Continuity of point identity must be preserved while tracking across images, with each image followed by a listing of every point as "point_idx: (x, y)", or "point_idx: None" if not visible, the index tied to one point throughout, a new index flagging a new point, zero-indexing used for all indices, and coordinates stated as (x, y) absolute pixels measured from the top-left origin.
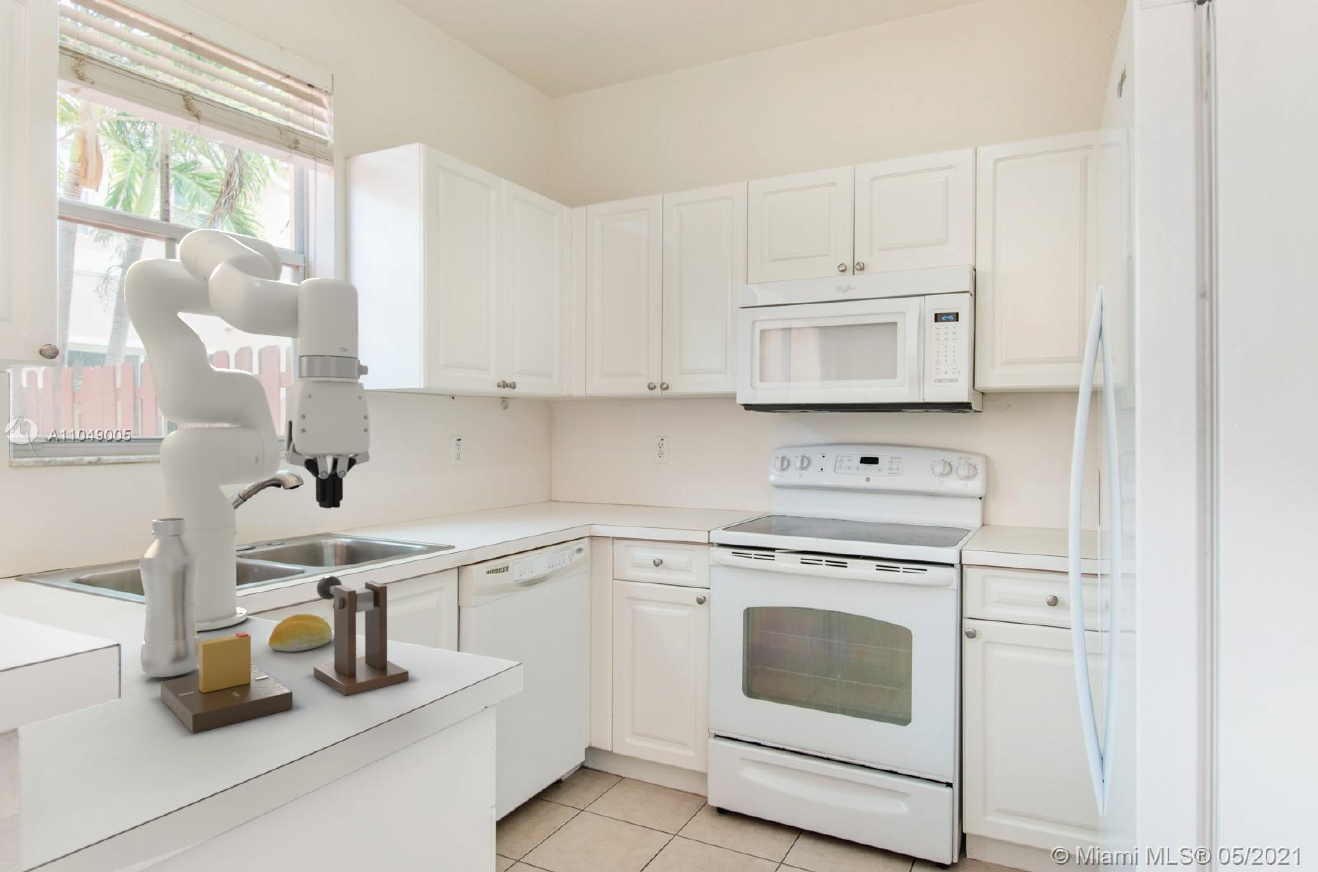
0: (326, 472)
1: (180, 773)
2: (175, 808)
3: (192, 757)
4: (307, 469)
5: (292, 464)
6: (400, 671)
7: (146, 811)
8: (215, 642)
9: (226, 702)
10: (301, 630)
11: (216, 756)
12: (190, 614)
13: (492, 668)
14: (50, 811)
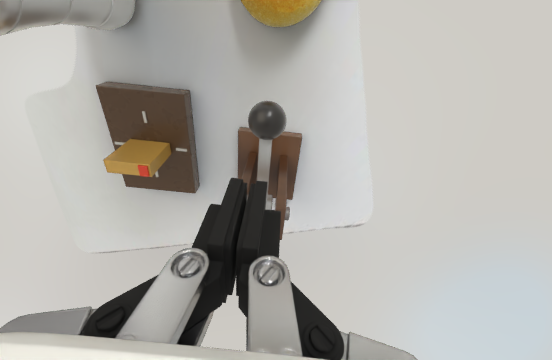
0: (204, 317)
1: (127, 222)
2: (126, 249)
3: (133, 210)
4: (133, 295)
5: (47, 319)
6: (287, 196)
7: (114, 244)
8: (119, 173)
9: (149, 180)
10: (266, 16)
11: (145, 217)
12: (78, 16)
13: (354, 216)
14: (72, 219)
